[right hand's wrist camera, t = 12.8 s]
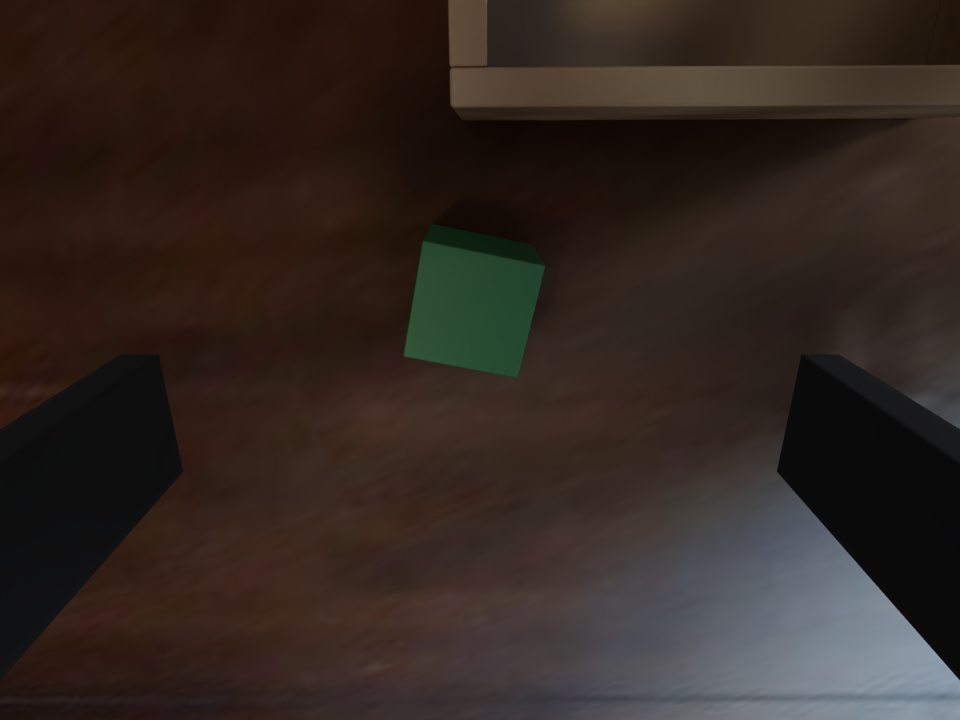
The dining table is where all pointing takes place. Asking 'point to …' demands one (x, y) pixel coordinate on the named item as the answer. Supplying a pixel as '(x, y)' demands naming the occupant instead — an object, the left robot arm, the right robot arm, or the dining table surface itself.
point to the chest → (704, 59)
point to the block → (473, 301)
